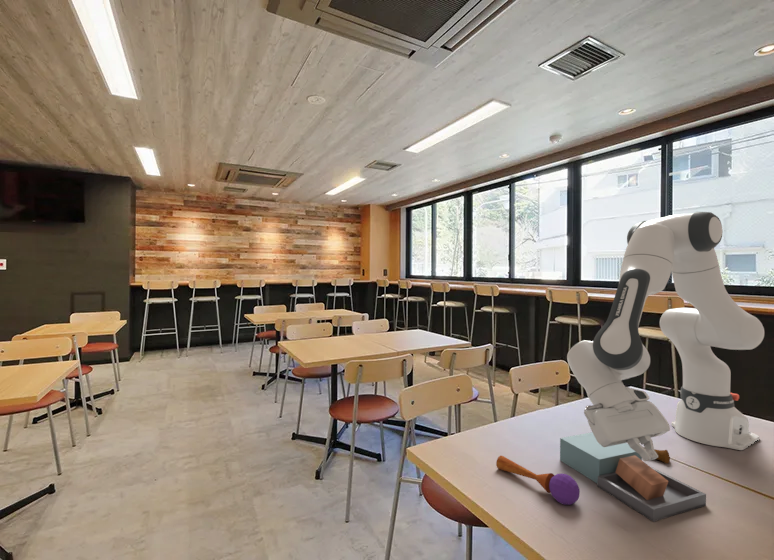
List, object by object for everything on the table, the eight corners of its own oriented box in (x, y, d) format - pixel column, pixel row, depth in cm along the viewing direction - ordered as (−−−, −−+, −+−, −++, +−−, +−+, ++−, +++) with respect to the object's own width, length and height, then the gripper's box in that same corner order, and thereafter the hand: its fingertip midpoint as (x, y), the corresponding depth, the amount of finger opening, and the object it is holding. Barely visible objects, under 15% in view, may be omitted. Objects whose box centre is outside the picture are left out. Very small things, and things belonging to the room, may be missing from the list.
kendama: (508, 449, 98) (585, 477, 82) (507, 473, 97) (584, 507, 81) (493, 451, 95) (570, 481, 78) (492, 476, 94) (569, 511, 77)
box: (646, 474, 93) (646, 464, 93) (705, 505, 80) (706, 494, 80) (597, 486, 87) (597, 476, 87) (653, 521, 75) (653, 509, 75)
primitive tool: (587, 444, 110) (587, 432, 110) (592, 438, 114) (592, 426, 114) (669, 467, 97) (669, 453, 97) (671, 459, 101) (671, 446, 101)
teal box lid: (599, 452, 104) (600, 430, 104) (641, 474, 93) (642, 450, 93) (560, 460, 100) (560, 438, 99) (598, 484, 88) (599, 459, 88)
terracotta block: (635, 455, 89) (668, 481, 82) (630, 469, 90) (663, 495, 83) (619, 458, 88) (652, 485, 80) (615, 472, 89) (647, 500, 82)
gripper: (588, 400, 87) (627, 462, 78) (650, 391, 94) (693, 446, 85) (573, 412, 91) (608, 472, 82) (633, 402, 98) (672, 457, 89)
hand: (651, 459), depth 84 cm, fingers closed
